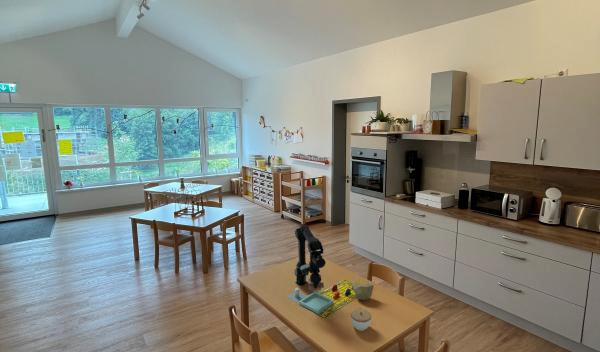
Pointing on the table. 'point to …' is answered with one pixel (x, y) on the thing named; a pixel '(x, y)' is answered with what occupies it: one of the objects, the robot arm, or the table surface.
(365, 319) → the lidded jar
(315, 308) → the tray
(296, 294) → the grey square knobbed piece
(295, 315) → the table surface
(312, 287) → the walnut square frame
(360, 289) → the grey bowl
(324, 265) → the robot arm
